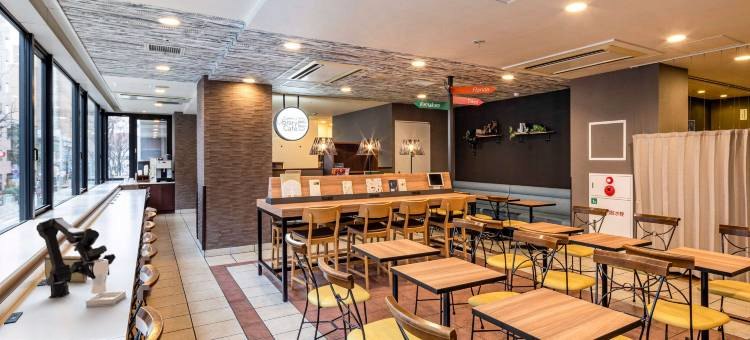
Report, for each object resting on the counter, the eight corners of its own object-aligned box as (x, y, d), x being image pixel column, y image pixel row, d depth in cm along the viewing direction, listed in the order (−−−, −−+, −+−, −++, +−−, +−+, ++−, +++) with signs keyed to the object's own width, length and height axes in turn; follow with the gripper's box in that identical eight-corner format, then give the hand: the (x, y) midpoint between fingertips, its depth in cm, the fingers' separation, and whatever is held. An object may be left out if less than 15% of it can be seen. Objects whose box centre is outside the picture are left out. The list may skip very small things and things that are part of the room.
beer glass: (103, 293, 192) (104, 261, 192) (87, 294, 190) (88, 261, 191) (110, 289, 198) (111, 258, 199) (94, 290, 197) (95, 259, 198)
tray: (86, 307, 191) (85, 300, 191) (100, 298, 203) (99, 292, 203) (113, 305, 192) (113, 299, 192) (125, 296, 204) (125, 291, 204)
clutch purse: (96, 279, 237) (95, 254, 237) (86, 283, 230) (84, 256, 230) (53, 277, 242) (52, 253, 242) (41, 281, 236) (40, 255, 235)
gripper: (72, 245, 187) (87, 271, 183) (112, 237, 204) (127, 261, 200) (62, 260, 191) (77, 286, 187) (103, 251, 208) (118, 275, 204)
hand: (101, 276), depth 194 cm, fingers closed on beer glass, 6 cm apart
